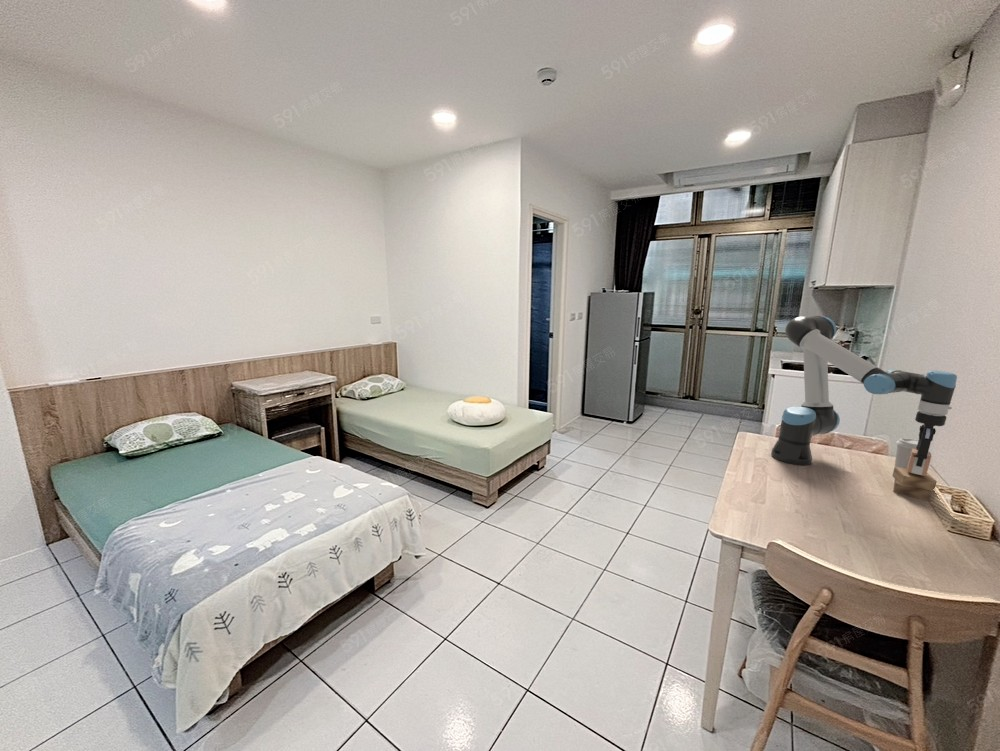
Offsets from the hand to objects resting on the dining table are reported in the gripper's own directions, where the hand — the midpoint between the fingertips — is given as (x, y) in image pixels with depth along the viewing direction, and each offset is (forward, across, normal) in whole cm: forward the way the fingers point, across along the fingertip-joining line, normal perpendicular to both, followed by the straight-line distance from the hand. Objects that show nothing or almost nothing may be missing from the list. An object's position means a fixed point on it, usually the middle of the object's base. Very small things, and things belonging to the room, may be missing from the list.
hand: (916, 471), depth 152 cm
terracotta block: (0, 0, 0) cm, 0 cm away
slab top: (+5, 0, 0) cm, 5 cm away
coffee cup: (+9, +19, +2) cm, 21 cm away
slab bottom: (+9, 0, 0) cm, 9 cm away
